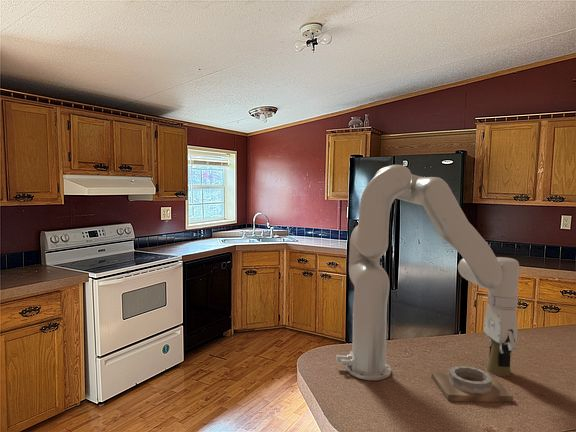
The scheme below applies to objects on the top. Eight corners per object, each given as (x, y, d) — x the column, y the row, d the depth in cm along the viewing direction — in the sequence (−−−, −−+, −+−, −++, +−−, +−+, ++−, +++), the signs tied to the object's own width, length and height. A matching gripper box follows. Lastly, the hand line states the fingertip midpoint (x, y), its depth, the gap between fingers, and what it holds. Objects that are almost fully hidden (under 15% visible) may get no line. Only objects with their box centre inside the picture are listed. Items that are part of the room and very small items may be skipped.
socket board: (448, 400, 98) (448, 385, 97) (431, 377, 110) (432, 363, 109) (512, 402, 97) (513, 386, 97) (489, 378, 109) (489, 364, 109)
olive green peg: (514, 377, 110) (516, 339, 109) (490, 375, 111) (492, 337, 111) (506, 367, 116) (508, 331, 115) (484, 365, 117) (486, 330, 116)
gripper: (475, 292, 121) (473, 350, 122) (504, 309, 104) (501, 376, 105) (500, 293, 120) (497, 350, 122) (533, 310, 104) (529, 376, 105)
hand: (499, 361), depth 113 cm, fingers closed on olive green peg, 4 cm apart
